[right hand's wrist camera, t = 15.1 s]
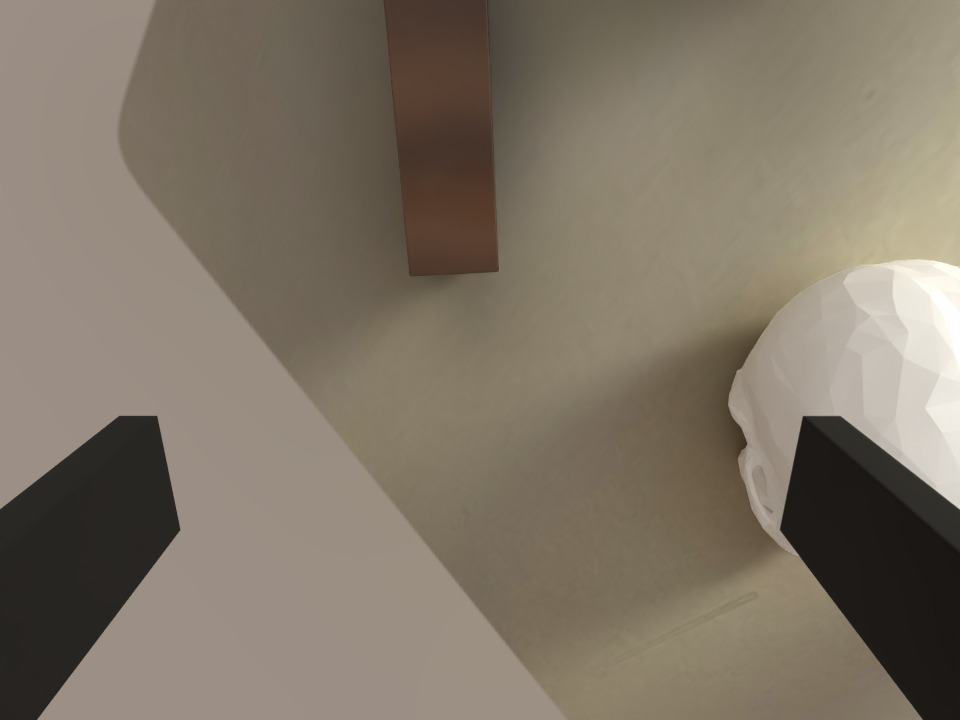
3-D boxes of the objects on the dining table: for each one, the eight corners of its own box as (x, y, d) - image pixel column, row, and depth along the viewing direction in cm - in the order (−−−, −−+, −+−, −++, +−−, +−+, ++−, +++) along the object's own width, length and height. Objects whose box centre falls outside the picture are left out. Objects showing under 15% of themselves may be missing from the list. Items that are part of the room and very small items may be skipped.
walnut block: (377, -256, 29) (348, -370, 22) (472, -262, 29) (472, -378, 22) (420, 251, 37) (409, 276, 31) (494, 247, 37) (498, 272, 31)
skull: (715, 553, 45) (845, 759, 30) (696, 263, 37) (857, 346, 22) (896, 519, 45) (1117, 711, 30) (913, 220, 37) (1223, 276, 22)
